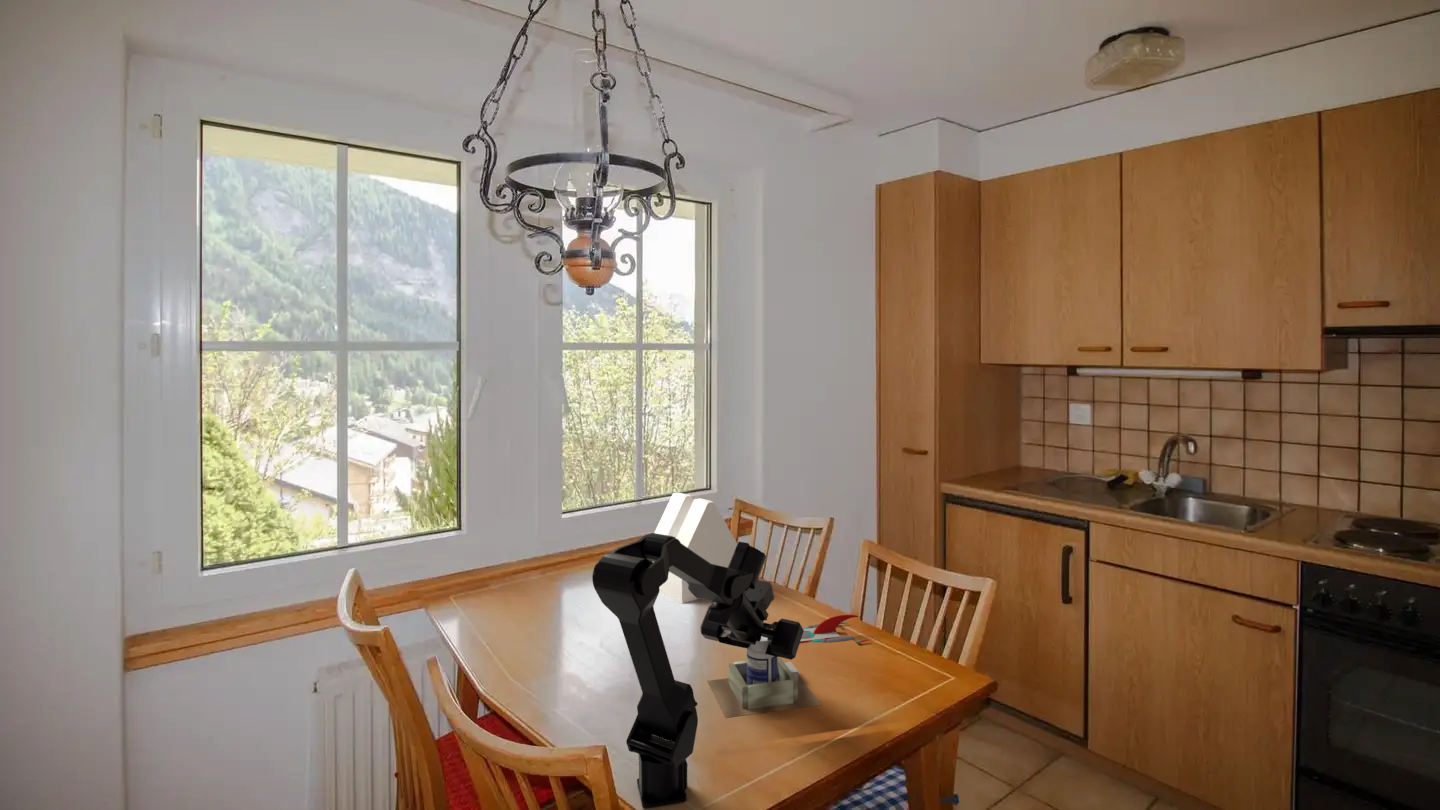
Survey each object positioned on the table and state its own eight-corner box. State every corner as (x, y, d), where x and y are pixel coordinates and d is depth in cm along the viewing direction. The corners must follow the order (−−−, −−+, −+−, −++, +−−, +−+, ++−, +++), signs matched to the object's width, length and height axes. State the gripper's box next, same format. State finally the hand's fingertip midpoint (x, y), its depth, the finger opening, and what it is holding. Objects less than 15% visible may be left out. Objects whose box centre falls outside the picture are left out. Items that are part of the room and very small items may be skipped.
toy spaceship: (756, 671, 148) (754, 648, 147) (736, 649, 158) (735, 627, 158) (869, 643, 157) (868, 620, 156) (844, 624, 167) (842, 603, 167)
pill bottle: (765, 677, 136) (766, 627, 136) (783, 689, 132) (783, 637, 131) (740, 684, 133) (740, 633, 133) (758, 697, 129) (758, 644, 128)
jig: (725, 723, 124) (725, 695, 123) (707, 685, 137) (706, 660, 137) (821, 709, 128) (821, 683, 128) (794, 674, 142) (794, 650, 141)
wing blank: (783, 683, 136) (783, 673, 136) (776, 673, 140) (776, 663, 140) (798, 681, 137) (798, 671, 137) (790, 671, 141) (790, 661, 141)
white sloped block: (682, 603, 181) (681, 507, 178) (648, 588, 192) (647, 497, 190) (738, 587, 193) (738, 497, 191) (703, 573, 205) (702, 488, 203)
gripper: (800, 579, 122) (823, 620, 133) (708, 562, 132) (737, 602, 142) (779, 639, 116) (806, 677, 127) (685, 617, 126) (716, 654, 136)
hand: (765, 650), depth 133 cm, fingers closed on pill bottle, 6 cm apart
